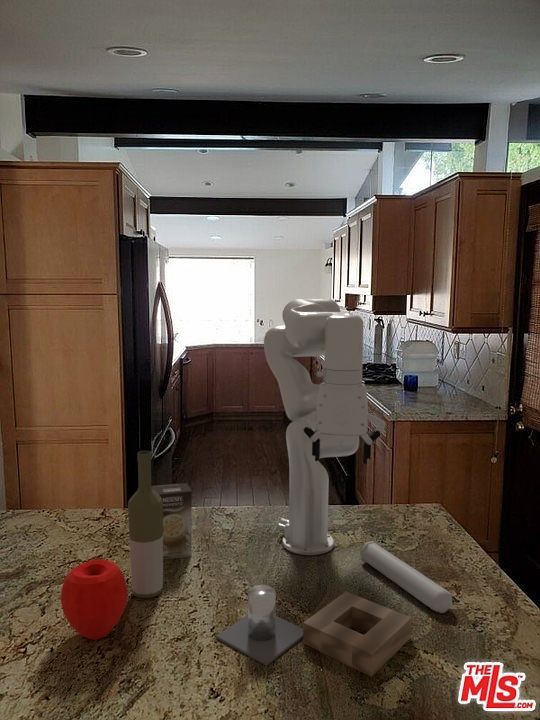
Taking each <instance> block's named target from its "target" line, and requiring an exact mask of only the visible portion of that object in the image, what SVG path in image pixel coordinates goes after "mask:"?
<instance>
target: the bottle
mask: <svg viewBox="0 0 540 720" xmlns="http://www.w3.org/2000/svg"><path fill="white" fill-rule="evenodd" d="M137 473H138V476H137V477H138V480H137V481H138V486H137V490H136V491H135V492H134V493H133V495H131V496H130V499H129V500H128V502H127V513H128V534H129V535H128V536H129V538H128V539H129V558H130V559H129V560H130V577H131V578H130V579H131V581H130V582H131V591H132V594H133V596H135V597H136V598H139V599H150V598H151V599H152V598H154V597H156V596H158V595H160V594H161V592H162V591H163V587H164V560H163V502H162V499H161V497H160V496H159V495H158V494H157V493H156V492H155V491H154V490H153V489H152V486H153V485H152V452H151V450H140V451H138V452H137Z"/></svg>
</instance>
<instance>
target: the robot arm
mask: <svg viewBox="0 0 540 720" xmlns="http://www.w3.org/2000/svg"><path fill="white" fill-rule="evenodd" d="M281 314H282V315H281V317H282V321H283V324H284V325H277V326H275V327H272V328H269V329H268V330H267V331H266V333H265V334H264V338H263V349H264V355H265V359H266V362H267V364H268V367H269V369H270V371H271V373H272V374H273V376H274V377H275V379H276V380H277V384H278V387H279V388H278V389H279V390H280V395H281V400H282V403H283V406H284V407H283V408H284V412H285V414H286V416H287V418H288V419H289V420H290V421H291V422H290V423H289V424H288V426H287V428H286V431H285V439H286V440H285V441H286V447H287V455H288V465H289V466H288V467H289V472H288V473H289V481H288V482H289V483H288V485H289V488H288V490H289V491H288V492H289V494H288V497H289V498H288V499H289V501H288V502H289V503H288V519H287V518H284V517H282V518H280V520H279V523H278V524H277V529H279V530H282V531H284V532H285V533H284V534H285V535H284V536H283V537H282V541H281V542H282V546H283V547H284V549H286V550H287V551H289V552H291V553H294V554H297V555H302V556H317V555H323V554H325V553H328V552H330V551H331V550H332V549H333V548H334V546H335V545H334V544H335V543H334V542H335V541H334V539H333V537H332V536H331V535H330V534H329V533H328V531H329V530H328V527H329V526H328V525H329V524H328V523H329V485H330V484H329V483H330V481H329V479H330V478H329V473H328V471H327V469H326V468H325V466H323V464H322V463H321V462H320V461H319V460H320V459H323V458H324V459H325V458H335V457H348V456H351V455H353V454H355V453H356V452H357V451H358V449H359V447H360V437H361V438H362V439H363V440H364V441H363V456H362V457H363V459H362V460H363V461H362V462H363V464H364V465H367V463H368V460H371V457H372V456H371V455H372V451H371V450H372V444H373V443H374V442H375V441H376V440H378V438H380V436H381V434H382V433H383V431H384V429H385V428H386V426H387V423H386V421H385V420H383V419H381V418H379V417H377V416H376V415H374V414H372V413H371V412H369V411H368V410H369V409H368V408H369V405H368V403H369V402H368V393H367V386H366V384H365V383H363V362H364V361H363V355H364V354H363V353H364V352H363V351H364V320H363V319H362V317H360V316H358V315H355V314H353V313H351V312H347V311H341V308H340V306H339V304H338V303H337V302H336V301H335V300H334V299H333V300H332V299H330V298H297V299H293V300H291V301H289V302H288V303H287V304H286V305H285V306H284V308H283V310H282V313H281ZM321 356H324V357H323V359H324V361H323V362H324V363H323V364H324V365H323V367H324V368H323V369H321V370H317V371H316V377H317V378H320V379H322V380H323V382H321V383H319V384H316V383H313V382H312V378H311V376H310V372H309V371H308V370H307V368H306V367H305V366H303V364H301V363H300V362H299V361H298V360H297V359H294V358H297V357H300V358H301V357H302V358H303V357H321ZM369 422H371V423H372V424H374V425H375V426H377V427H376V428H375V429H374V430H373V431H372V432H371V433H369V431H368V427H369V426H368V425H369V424H368V423H369Z"/></svg>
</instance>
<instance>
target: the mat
mask: <svg viewBox="0 0 540 720" xmlns="http://www.w3.org/2000/svg"><path fill="white" fill-rule="evenodd" d="M301 638H302V639H303V627H300V626H298V625H296V624H294V623H292V622H290V621H288V620H286V619H285V618H281V617H280V616H277V615H275V636H274V637H273V638H272V639H270V640H268V641H256V640H253V639H251V638H250V637H249V635H248V614H247V615H245V616H244V617H243V618H241V619H240V620H238V621H237V622H235V623H233V624H232V625H230V626H229V627H227V628H225V629H224V630H222V631H221V632H219V633H218V634H216V635H215V639H216V640H218V641H220V642H222V643H223V644H226V645H228V646H230V647H231V648H233V649H235V650H236V651H238V652H240V653H242V654H244V655H246V656H247V657H249V658H251V659H253V660H255V661H256V662H258V663H261V664H262V665H264V666H266V667H267V666H268V665H270V664H271V663H272V662H274V661H275V660H276V659H278V657H280V656H282V654H284V653H285V652H286V651H287V650H289V649H290V648H291V646H292V647H293V646H294V645H296V644H297V643H298V642H299V641H301V640H302V639H301ZM295 643H296V644H295Z"/></svg>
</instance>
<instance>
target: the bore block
mask: <svg viewBox="0 0 540 720" xmlns="http://www.w3.org/2000/svg"><path fill="white" fill-rule="evenodd" d="M302 625H303V626H302V628H303V638H302V644H303V643H304V645H305V644H306V645H305V646H307V645H308V646H307V647H309V646H310V647H309V648H311V647H312V648H311V649H313V648H314V649H313V650H315V649H316V651H318V652H320V653H322V654H323V655H326V656H327V657H330V658H332V659H333V660H336V661H338V662H340V663H341V664H344V665H346V666H348V667H351V668H352V669H355V670H357V671H358V672H360V673H362V674H365V675H367V676H369V677H370V678H372V677H373V676H374V675H375V674H376V673H378V672H379V670H380V669H381V668H382V667H383V666H384V665H385V664H386V663H387V662H388V661H389V660H390V659H392V657H394V655H395V654H396V653H398V652H399V651H400V649H401V648H402V647H403V646H405V644H406V643H408V642H409V641H410V640H411V637H412V617H411V616H409V615H406V614H404V613H401V612H399V611H396V610H394V609H392V608H391V609H390V608H388V607H386V606H384V605H381V604H378V603H376V602H374V601H371V600H368V599H366V598H363V597H361V596H359V595H356V594H353V593H351V592H348V591H344V592H343V593H342V594H340V595H339V596H338V597H336V598H335V599H334V600H332V601H331V602H330V603H328V604H327V605H325V606H324V607H322V608H321V609H320V610H318V611H317V612H316V613H315V614H313V615H311V617H309V618H308V619H306V620H305V621H303V624H302ZM352 626H353V628H355V629H357V628H358V630H359V629H360V631H361V630H362V631H361V632H364V631H365V632H364V633H365V634H363V633H360V632H358V631H357V630H353V629H351V628H352ZM366 632H367V633H366Z"/></svg>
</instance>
